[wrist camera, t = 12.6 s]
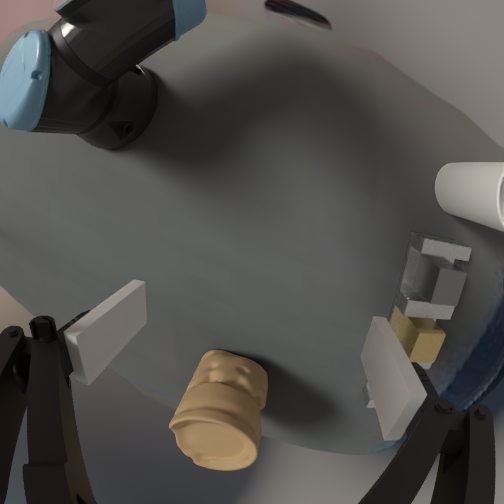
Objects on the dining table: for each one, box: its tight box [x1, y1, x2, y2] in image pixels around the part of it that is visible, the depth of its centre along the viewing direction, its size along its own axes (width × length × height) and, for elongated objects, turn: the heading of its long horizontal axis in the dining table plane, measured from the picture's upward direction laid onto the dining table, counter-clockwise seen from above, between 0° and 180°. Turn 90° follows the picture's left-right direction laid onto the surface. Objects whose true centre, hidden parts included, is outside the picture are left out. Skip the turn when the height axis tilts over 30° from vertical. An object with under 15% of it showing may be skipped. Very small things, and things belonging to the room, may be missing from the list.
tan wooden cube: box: [396, 316, 446, 363], centre depth 38 cm, size 5×5×7 cm
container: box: [169, 350, 268, 471], centre depth 40 cm, size 13×13×18 cm
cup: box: [435, 162, 504, 232], centre depth 28 cm, size 8×8×16 cm
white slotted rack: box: [362, 231, 472, 408], centre depth 38 cm, size 30×9×8 cm, turn 174°
